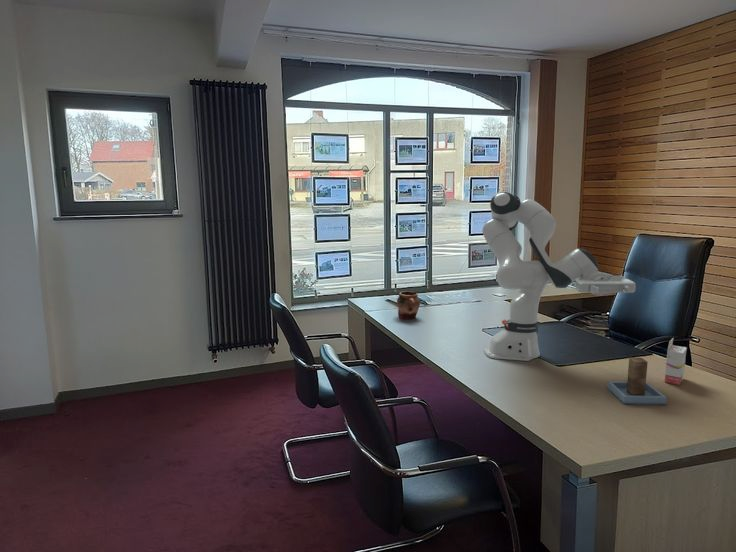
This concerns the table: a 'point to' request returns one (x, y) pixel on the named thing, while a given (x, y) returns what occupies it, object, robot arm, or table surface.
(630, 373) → the walnut block
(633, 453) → the table surface
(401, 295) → the decorative planter
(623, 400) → the slate tray
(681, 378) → the ink cartridge box
